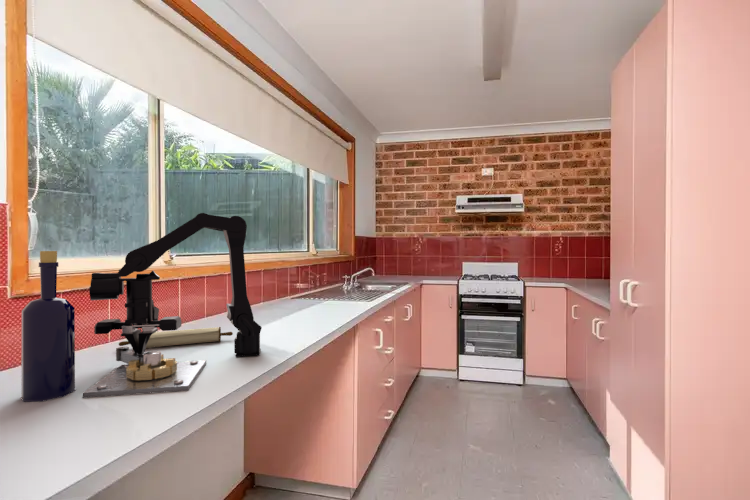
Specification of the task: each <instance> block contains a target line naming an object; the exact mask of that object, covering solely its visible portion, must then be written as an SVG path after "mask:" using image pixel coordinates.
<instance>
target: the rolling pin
mask: <svg viewBox="0 0 750 500" xmlns="http://www.w3.org/2000/svg"><path fill="white" fill-rule="evenodd" d="M233 335H234V333H233V332H232V331H226V332H221V326H219V327H218V326H217V327H216V326H215V327H204V328H203V327H202V328H192V329H179V330H178V329H177V330H170V331H156V332H155V333H153V334H152V335H151V336H150V338H149V340H148V343H147V345H146V348H145V349H153V348H163V347H169V346H182V345H191V344H193V345H194V344H204V343H214V342H219V343H221V341H222V340H221V339H222V336H233ZM127 345H131V344H130V343H129V342H128V340H126V341H119V343H118V346H119V347H125V346H127Z"/></svg>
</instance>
